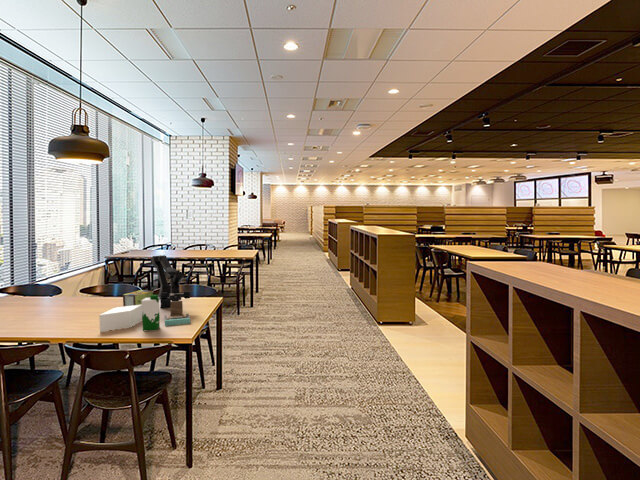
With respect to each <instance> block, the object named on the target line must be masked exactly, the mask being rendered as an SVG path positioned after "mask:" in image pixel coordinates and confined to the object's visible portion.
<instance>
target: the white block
mask: <svg viewBox="0 0 640 480" xmlns="http://www.w3.org/2000/svg"><path fill="white" fill-rule="evenodd" d="M98 317H99V318H98V319H99V333H105V332H110V331H109V330H112V331H116V330H115V329H118V330H122V329H121V328H124V329H129V327H130V328H132V326H133V327H134V326H137V324H139V323H141V322H142V304H140V305H133V306H125V307H123V306H119V307H113V308H112V309H109V310H107V311H105V312H103V313H100V314H99V315H98Z"/></svg>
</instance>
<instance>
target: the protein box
mask: <svg viewBox="0 0 640 480" xmlns="http://www.w3.org/2000/svg"><path fill="white" fill-rule="evenodd" d="M153 292H154V291H153V290H146V289H145V290H144V289H140V290H136V291H133V292H129V293H124V294H122V301H123V302H122V307H125V306H133V305H140V304H142V303H141V301H142V300H143V299H145V298H150V295H154V294H153Z"/></svg>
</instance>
